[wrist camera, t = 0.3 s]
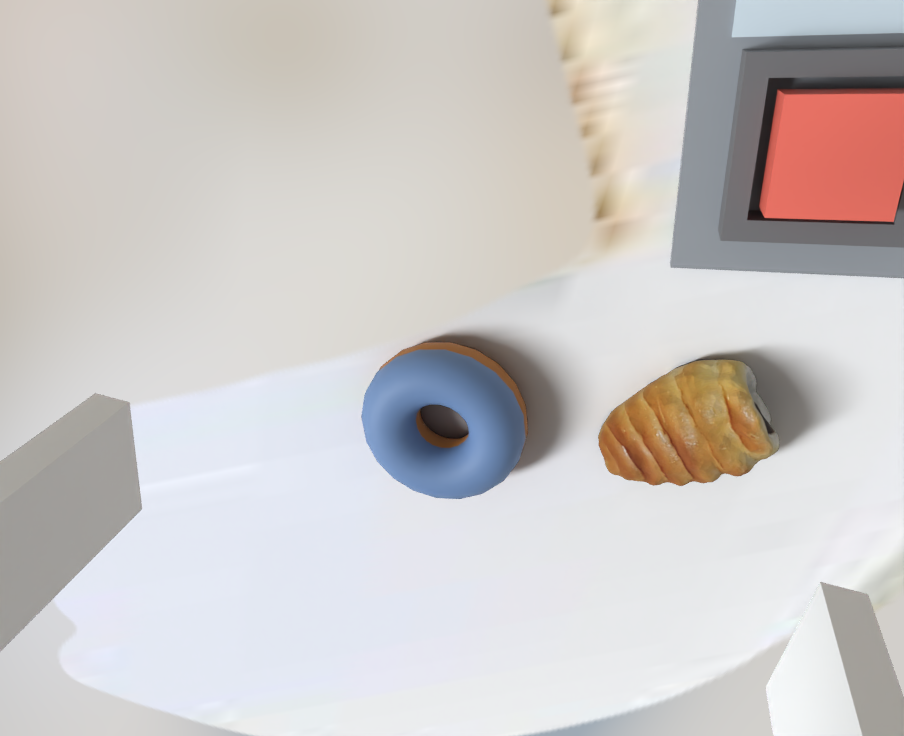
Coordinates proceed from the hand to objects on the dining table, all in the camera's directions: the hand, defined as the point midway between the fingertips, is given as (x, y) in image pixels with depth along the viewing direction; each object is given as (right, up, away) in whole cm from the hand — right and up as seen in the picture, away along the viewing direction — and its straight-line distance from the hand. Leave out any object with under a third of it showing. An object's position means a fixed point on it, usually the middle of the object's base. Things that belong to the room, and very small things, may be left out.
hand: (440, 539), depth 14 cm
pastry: (+14, +1, +27) cm, 31 cm away
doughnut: (0, +1, +31) cm, 31 cm away
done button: (+16, +13, +17) cm, 27 cm away
